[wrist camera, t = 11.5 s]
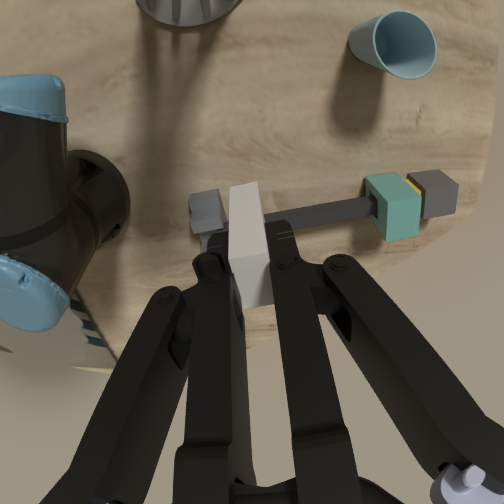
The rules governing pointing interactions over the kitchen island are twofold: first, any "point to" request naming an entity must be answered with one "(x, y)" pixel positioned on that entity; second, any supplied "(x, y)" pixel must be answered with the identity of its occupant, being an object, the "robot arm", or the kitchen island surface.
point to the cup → (396, 44)
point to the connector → (435, 193)
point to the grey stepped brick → (206, 215)
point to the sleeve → (394, 206)
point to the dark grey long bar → (326, 212)
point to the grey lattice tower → (187, 11)
